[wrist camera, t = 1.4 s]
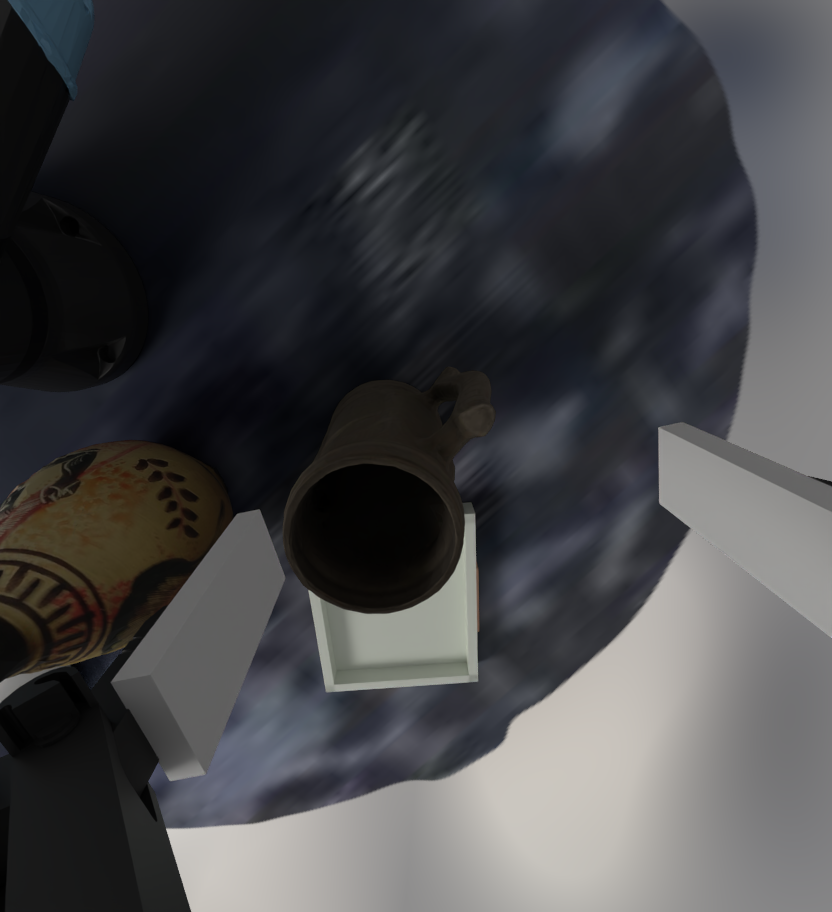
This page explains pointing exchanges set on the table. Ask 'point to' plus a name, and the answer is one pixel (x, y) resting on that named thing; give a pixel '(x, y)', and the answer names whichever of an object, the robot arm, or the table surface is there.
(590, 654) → the table surface
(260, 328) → the table surface
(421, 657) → the tray
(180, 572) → the ceramic jug
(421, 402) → the beer stein
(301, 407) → the table surface
